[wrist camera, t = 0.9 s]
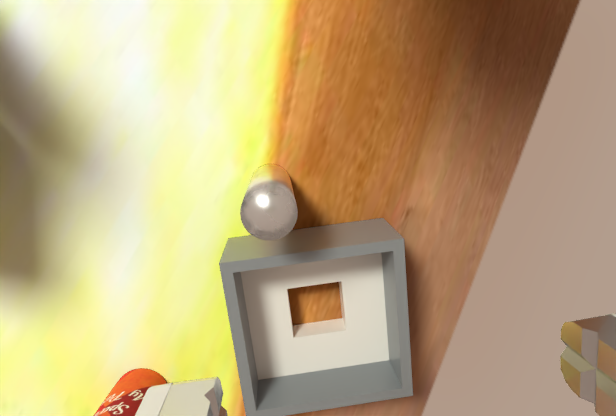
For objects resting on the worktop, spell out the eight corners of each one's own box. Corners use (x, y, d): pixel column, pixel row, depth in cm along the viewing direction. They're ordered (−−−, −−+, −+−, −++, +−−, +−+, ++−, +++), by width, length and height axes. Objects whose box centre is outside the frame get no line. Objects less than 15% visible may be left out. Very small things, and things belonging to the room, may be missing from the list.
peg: (247, 166, 39) (236, 189, 27) (288, 161, 39) (293, 181, 28) (253, 206, 40) (245, 243, 28) (293, 200, 40) (300, 236, 29)
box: (228, 238, 41) (219, 263, 34) (382, 218, 41) (403, 238, 35) (251, 374, 44) (247, 421, 38) (392, 353, 45) (413, 395, 38)
